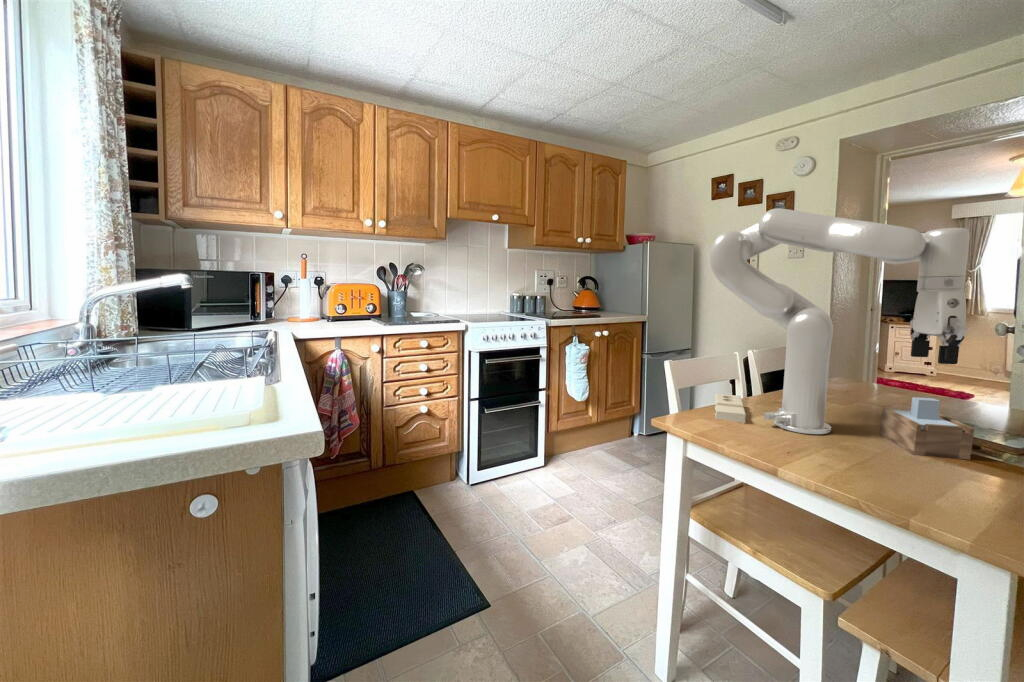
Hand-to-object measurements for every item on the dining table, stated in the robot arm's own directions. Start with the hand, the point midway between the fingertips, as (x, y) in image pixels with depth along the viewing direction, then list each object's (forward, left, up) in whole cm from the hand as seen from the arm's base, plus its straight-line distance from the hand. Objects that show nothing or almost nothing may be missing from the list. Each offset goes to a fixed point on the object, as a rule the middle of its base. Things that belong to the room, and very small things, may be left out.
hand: (932, 360), depth 98 cm
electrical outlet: (-31, +28, -21) cm, 47 cm away
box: (0, 0, -20) cm, 20 cm away
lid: (0, 0, -15) cm, 15 cm away
